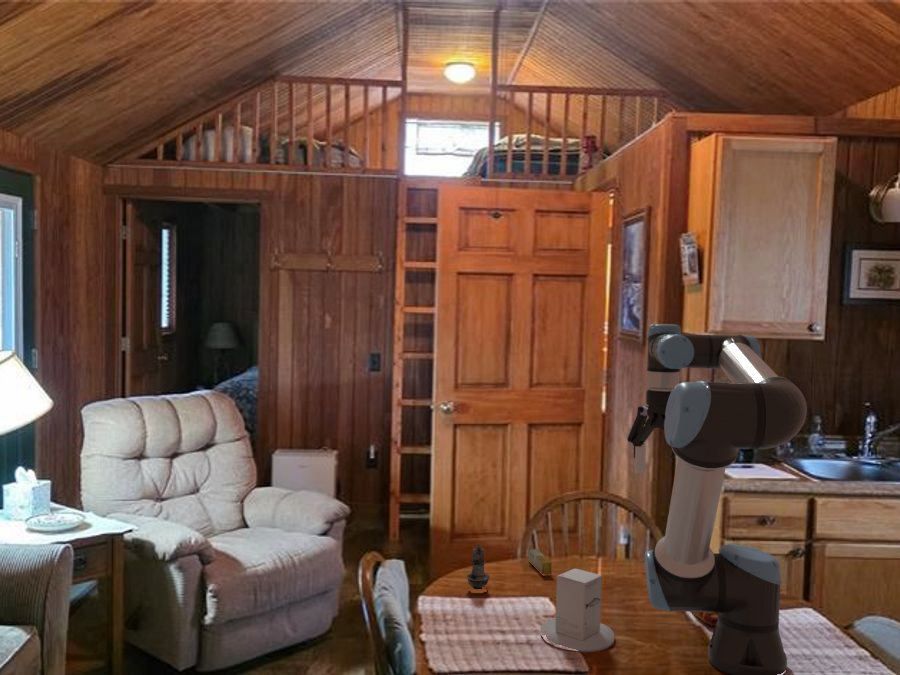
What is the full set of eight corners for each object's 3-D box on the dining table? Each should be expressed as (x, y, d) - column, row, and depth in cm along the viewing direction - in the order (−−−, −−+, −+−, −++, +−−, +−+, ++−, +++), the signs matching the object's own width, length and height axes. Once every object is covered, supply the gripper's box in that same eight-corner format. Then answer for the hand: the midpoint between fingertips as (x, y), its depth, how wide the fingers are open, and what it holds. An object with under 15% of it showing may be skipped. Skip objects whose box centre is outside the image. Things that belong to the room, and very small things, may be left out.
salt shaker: (490, 586, 204) (490, 540, 204) (488, 595, 198) (489, 547, 198) (467, 585, 205) (468, 539, 204) (465, 593, 199) (466, 546, 198)
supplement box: (583, 641, 169) (584, 583, 169) (554, 631, 174) (555, 574, 174) (601, 631, 175) (603, 574, 174) (573, 622, 180) (574, 566, 179)
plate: (630, 642, 172) (630, 637, 172) (572, 658, 163) (572, 653, 163) (581, 616, 185) (581, 612, 185) (525, 630, 177) (525, 625, 177)
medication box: (528, 562, 224) (528, 548, 224) (537, 562, 225) (537, 548, 225) (542, 577, 213) (542, 562, 212) (552, 576, 213) (552, 561, 213)
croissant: (693, 610, 200) (678, 581, 200) (731, 595, 198) (716, 565, 198) (702, 643, 179) (686, 611, 180) (745, 626, 177) (728, 593, 178)
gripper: (715, 394, 180) (712, 487, 181) (636, 383, 201) (634, 466, 202) (692, 395, 176) (689, 490, 177) (614, 384, 197) (612, 469, 198)
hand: (660, 478), depth 189 cm, fingers open, 13 cm apart
